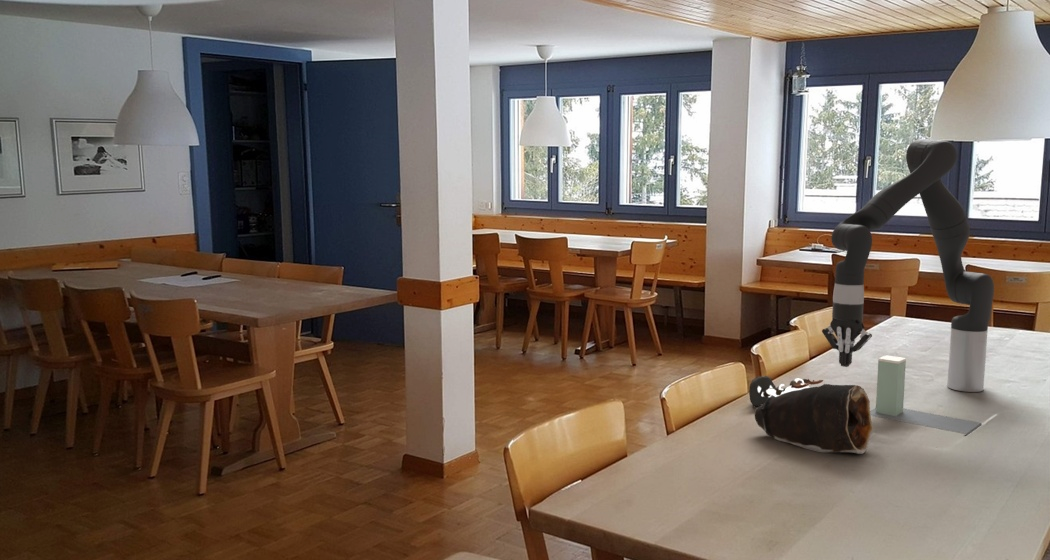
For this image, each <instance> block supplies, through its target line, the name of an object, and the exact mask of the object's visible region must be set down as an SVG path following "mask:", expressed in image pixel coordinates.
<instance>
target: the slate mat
mask: <svg viewBox="0 0 1050 560" xmlns="http://www.w3.org/2000/svg"><path fill="white" fill-rule="evenodd" d="M870 415H871V417H878V418H882V419H888V420H892V421H897V422H903V423H908V424H912V425H918V426H924V427H928V428H933V429H938V430H943V431H948V432H949V431H950V432H955V433H959V434H964V435H963V437H967V436H969V435H970V434H972V433H973V432H974V431H975V430H977V429H978V428H980V427H981V426H982V424H983V423H982V422H980V421H974V420H969V419H962V418H957V417H954V416H953V417H952V416H947V415H941V414H936V413H931V412H925V411H920V410H913V409H911V408H910V409H907V408H904V407H903V412H902V413H900V414H898V415H897V416H893V415H887V414H882V413H877V412H876V407H875V408H873V409H870Z"/></svg>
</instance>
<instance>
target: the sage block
mask: <svg viewBox="0 0 1050 560" xmlns="http://www.w3.org/2000/svg"><path fill="white" fill-rule="evenodd" d="M906 364H907V358H905V357H900V356H894V355H887V354H886V355H883V356H880V357H878V363H877V376H876V377H877V378H876V379H877V380H876V381H877V382H876V397H875V398H876V400H875V408H876V412H877V413H882V414H887V415H893V416H897V415H898V414H900V413H902V412H903V408H904V399H905V397H904V396H905V381H906V380H905V379H906V368H907V367H906Z"/></svg>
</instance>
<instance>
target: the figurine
mask: <svg viewBox="0 0 1050 560" xmlns="http://www.w3.org/2000/svg"><path fill="white" fill-rule="evenodd" d="M823 381H824V379H819V380H814V379H813V380H811V379H809V378H803V379H802V378H798V377H796V378H795V379H794V380H793V379H792V380H791V381H790V382H789V386H787V387H785V384H784V383H781V384H779V385H778V386H777V387H776V385H775V384H774V382H773V379H772V378H771V377H769V376H768V375H764V376H756V377H754V378H753V379H752V380H751V382H750V384H749V391H748V393H749V401H750V403H751V404H752V406H753V407H755V408H758V407H759V406H761V405H762V404H764V403H765V402H766V401H767V399H768V398H769V397H777V396H779V395H781V394H784V393H787V392H791V391H796V390H801V389H804V388H810V386H809V385H811V386H812V385H818V384H821V383H823ZM783 387H784V388H783Z"/></svg>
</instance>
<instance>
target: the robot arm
mask: <svg viewBox="0 0 1050 560" xmlns="http://www.w3.org/2000/svg"><path fill="white" fill-rule="evenodd" d="M905 155H906V156H905V160H906V161H905V162H906V164H907V168H908V171H909V174H908V175H906V176H905V177H903V178H901V179H899V180H897V181H895V182H892V183H891V184H888V186H886V187H884V188H882V189H881V190H879V192H877V193H875V195H874V196H872V197H871V198H870V199H869V200H868V201H867V202H866V203H865V204H864V205H863V207H861V209H859V210H857V211H855V212H854V213H852V214H851V215H848V217H846V218H845V219H844V220H841V221H840V222H839V223H838V224H837V225H836V226H835V227H834V229H833V231H832V234H831V238H830V240H831V243H832V245H833V247H834V248H835V249H837V250H840V251H845V252H846V253H845V258H844V259H843V260H840V261H838V262H837V263H836V265H835V271H834V272H835V274H834V287H833V295H832V315H831V317H832V319H831V321H830V323H829V326H827V327H824V328H823V329H821V332H822V334H823V336H824V337H825V338H826V341H827V342H828V344H829V345H830V346H831V348H832V349H833V350H837V351H838V352H839V353H838V362H839V363H838V364H839V365H840V366H841V367H843V368H844V367H845V368H848V367H850V365H852V363H853V362H852V361H853V353H854V352H858V351H860V350H861V349H862V348H863V347H864V346H865V345H866V344H867V342H869V340H870V339H872V337H873V334H872V333H871V332H867V331H866V330H865V326H864V323H863V320H864V319H863V318H864V304H865V303H864V301H865V287H864V284H865V283H864V282H865V267H866V264H867V262H868V260H869V256H870V254H871V250H872V246H873V236H872V233H871V231H875V230H880V229H882V227H884V226H885V225H886V224H887V223H888V222H889V221H890V220H891V219H892V218H893V217H894V216H895V215H896V214H897V213H898V212H899V211H900V210H901V209H902V208H904V206H905V205H907V204H908V203H909V202H910V201H911V200H913V199H914V198H916V197H917V196H918V195H919V197H920V198H921V202H922V205H923V207H924V211H925V214H926V217H927V221H928V225H929V228H930V231H931V234H932V237H933V239H934V242H935V246H936V250H937V254H938V258H939V260H940V264H941V268H942V275H943V280H944V284H945V290H946V294H947V296H948V298H949V299H950V301H952V303H953V302H954V303H956V304H961V305H969V309H968V311H967V313H965V314H962V315H956V316H953V317H952V319H951V321H950V323H951V324H950V339H949V353H948V354H949V355H948V368H947V369H948V370H947V385H946V386H947V388H948V389H952V390H955V391H959V392H966V393H968V392H969V393H977V392H982V391H984V384H985V375H986V374H985V373H986V360H987V359H986V358H987V348H988V347H987V345H988V330H989V329H988V327H989V323H990V321H991V317H992V308H993V301H994V292H995V284H994V279H993V278H992V276H991V275H990V274H987V273H982V272H974V271H967V270H966V269H965V268H964V265H963V260H962V254H963V252H964V250H965V247H966V245H967V244H968V241H969V238H970V235H971V234H970V233H971V230H970V225H969V221H968V218H967V215H966V211H965V210H964V207H963V206H962V205H961V203H960V202H959V201H958V199H957V198H956V197H955V196H954V195H953V194H952V192H951V191H950V190H949V189H948V188H947V187H946V185H945V183H943V181H942V178H943V177H944V176H946V175H947V174H948V173H949V172H951V171H952V170H953V168H954V167H955V165H956V162H957V159H958V152H957V148H956V147H955V144H953V143H952V142H950V141H946V140H943V139H942V140H941V139H928V138H920V139H919V138H918V139H915V140H913V141H912V142H911V143H910V144H909V145H908V147H907V148H906V153H905ZM834 334H835V335H834ZM836 337H837V338H836ZM858 337H859V338H860V339H859V340H858V341H857V342H856V339H857V338H858Z"/></svg>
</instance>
